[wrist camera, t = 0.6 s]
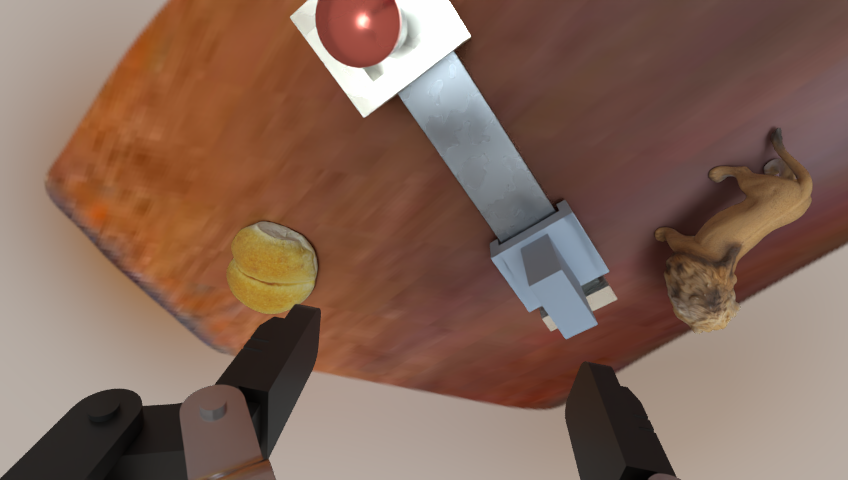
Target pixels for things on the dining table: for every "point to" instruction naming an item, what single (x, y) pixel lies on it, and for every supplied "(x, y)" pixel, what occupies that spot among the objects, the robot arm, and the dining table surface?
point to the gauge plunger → (360, 30)
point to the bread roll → (271, 268)
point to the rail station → (451, 120)
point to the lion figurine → (731, 239)
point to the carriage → (552, 269)
